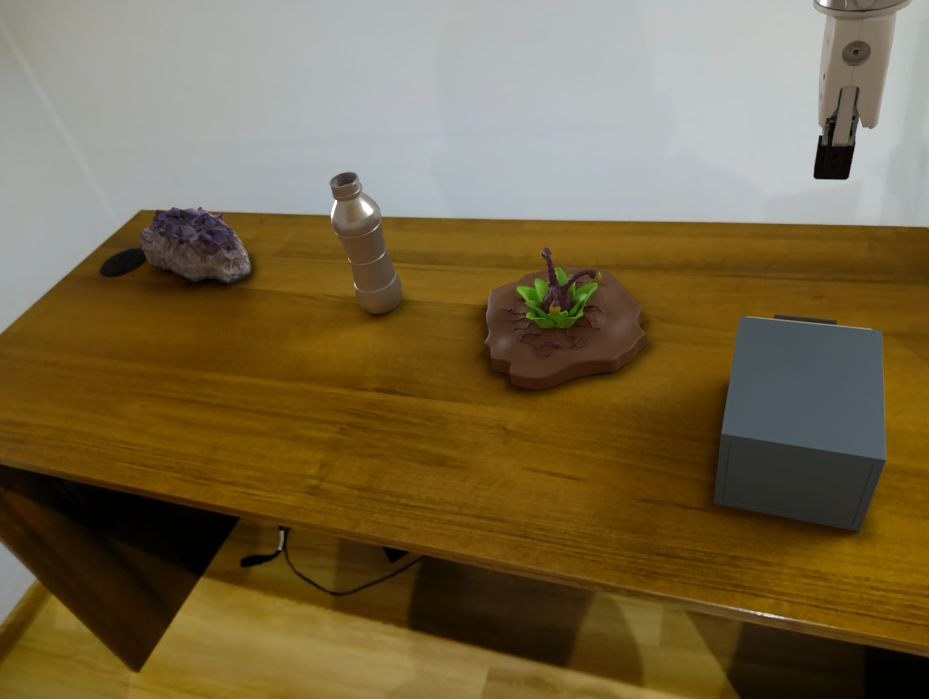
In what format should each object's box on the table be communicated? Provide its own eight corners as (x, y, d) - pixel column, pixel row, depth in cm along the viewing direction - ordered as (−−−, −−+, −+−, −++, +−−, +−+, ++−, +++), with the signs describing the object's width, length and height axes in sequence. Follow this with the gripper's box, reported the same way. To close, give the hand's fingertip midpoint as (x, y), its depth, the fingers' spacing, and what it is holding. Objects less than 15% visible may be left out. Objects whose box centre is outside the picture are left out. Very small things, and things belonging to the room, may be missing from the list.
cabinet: (731, 388, 79) (739, 316, 72) (859, 405, 75) (881, 330, 68) (713, 503, 69) (721, 433, 62) (860, 532, 65) (886, 460, 58)
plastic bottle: (352, 315, 101) (306, 191, 87) (377, 286, 105) (337, 163, 91) (390, 324, 98) (349, 197, 84) (415, 293, 102) (379, 168, 88)
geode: (278, 250, 116) (251, 203, 109) (233, 301, 111) (202, 255, 103) (192, 227, 125) (162, 181, 118) (147, 272, 120) (112, 228, 112)
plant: (612, 266, 98) (610, 196, 91) (664, 361, 84) (666, 287, 76) (471, 300, 98) (456, 232, 91) (498, 401, 84) (483, 331, 76)
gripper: (921, 15, 54) (873, 220, 66) (912, -52, 63) (871, 138, 76) (811, 21, 57) (785, 216, 69) (818, -44, 66) (794, 137, 78)
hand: (830, 175), depth 72 cm, fingers closed
